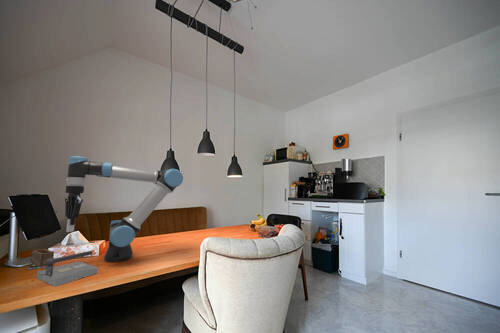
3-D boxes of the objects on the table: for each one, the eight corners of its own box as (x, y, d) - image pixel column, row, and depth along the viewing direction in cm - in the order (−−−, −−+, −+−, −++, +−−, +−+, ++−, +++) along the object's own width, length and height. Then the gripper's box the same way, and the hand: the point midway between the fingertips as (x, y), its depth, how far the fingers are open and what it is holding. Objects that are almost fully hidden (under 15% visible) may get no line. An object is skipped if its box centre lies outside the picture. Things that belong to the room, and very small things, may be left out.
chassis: (78, 267, 116) (79, 253, 117) (97, 273, 108) (98, 258, 109) (35, 278, 101) (37, 262, 101) (54, 286, 93) (56, 269, 93)
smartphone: (25, 271, 110) (25, 268, 110) (36, 262, 123) (36, 260, 123) (46, 268, 114) (46, 266, 114) (54, 260, 127) (55, 258, 127)
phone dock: (42, 261, 123) (44, 248, 124) (52, 265, 118) (54, 251, 119) (30, 264, 119) (31, 250, 120) (39, 268, 113) (41, 254, 114)
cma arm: (47, 265, 96) (47, 260, 97) (44, 264, 98) (44, 259, 98) (92, 255, 113) (93, 251, 113) (89, 254, 114) (89, 250, 115)
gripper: (60, 185, 113) (54, 231, 110) (73, 185, 107) (67, 234, 104) (77, 185, 120) (72, 229, 117) (90, 186, 114) (85, 231, 111)
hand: (70, 231), depth 111 cm, fingers closed
